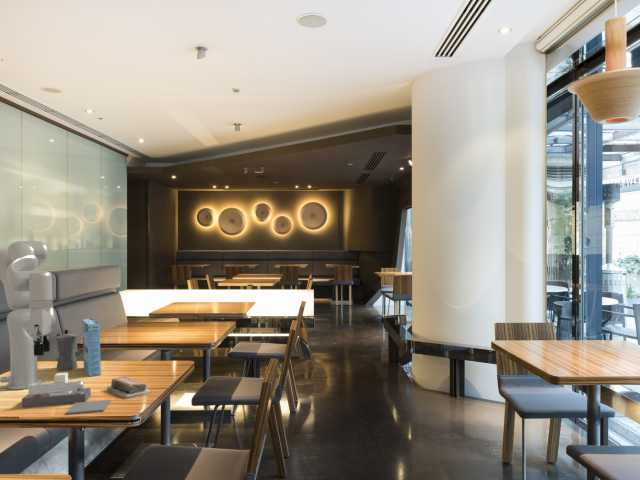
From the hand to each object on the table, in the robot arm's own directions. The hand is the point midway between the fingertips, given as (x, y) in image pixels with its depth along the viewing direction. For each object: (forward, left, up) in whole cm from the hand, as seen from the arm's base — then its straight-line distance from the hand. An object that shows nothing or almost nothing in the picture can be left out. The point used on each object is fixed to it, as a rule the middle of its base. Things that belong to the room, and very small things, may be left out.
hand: (42, 352), depth 186 cm
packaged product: (+30, +3, -18) cm, 35 cm away
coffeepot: (-7, +52, -18) cm, 55 cm away
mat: (+19, -14, -18) cm, 30 cm away
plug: (+7, -3, -18) cm, 19 cm away
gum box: (+7, +41, -18) cm, 45 cm away
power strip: (+6, -4, -18) cm, 19 cm away
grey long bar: (+7, -6, -13) cm, 16 cm away
